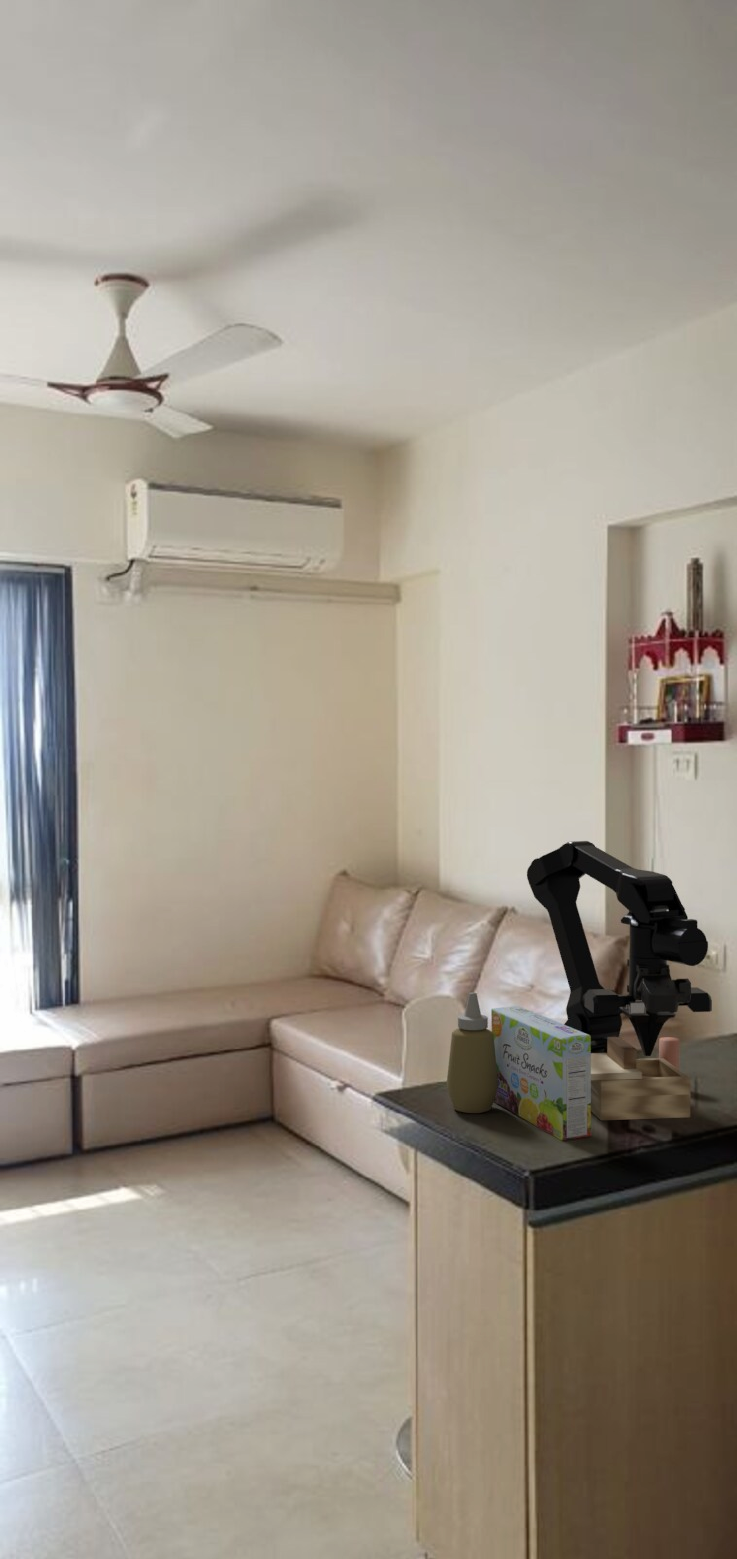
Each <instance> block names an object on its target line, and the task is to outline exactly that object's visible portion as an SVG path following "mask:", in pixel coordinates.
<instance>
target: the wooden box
mask: <svg viewBox="0 0 737 1559" xmlns="http://www.w3.org/2000/svg"><path fill="white" fill-rule="evenodd" d="M636 1068H637V1069H639V1070H640V1071H641V1072H642V1079H621V1080H591V1113H592V1114H594V1115H595V1116H596V1117H597V1118H598V1119H599V1120H600V1121H617V1120H618V1121H620V1120H621V1121H623V1120H649V1119H650V1120H651V1119H653V1120H654V1119H672V1118H673V1119H674V1118H678V1119H681V1118H691V1089H692V1088H691V1086H692V1084H691V1077H690V1076H689V1075H687V1074H686V1073H684V1072H683V1071H681V1069H680V1068H679V1069H677V1068H676V1067H675V1066H673V1065H672V1064H670V1063H669V1062H668V1061H666V1060H665V1059H663V1058H659V1057H654V1058H653V1057H651V1058H636Z"/></svg>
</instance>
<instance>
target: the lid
mask: <svg viewBox="0 0 737 1559" xmlns="http://www.w3.org/2000/svg"><path fill="white" fill-rule="evenodd" d="M637 1052H638V1050H637V1048H635V1047H634V1046H633V1045H632V1044H630V1043H629V1042H627V1041H626V1040H625V1039H623V1038H622V1037H620V1036H619V1037H607V1053H591V1080H621V1079H642V1072H641V1071H640V1070H639V1069H637V1068H636V1059H637V1056H638V1055H637Z"/></svg>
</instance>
